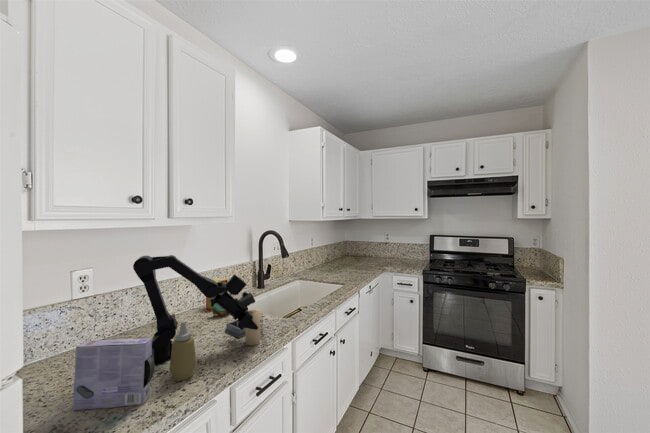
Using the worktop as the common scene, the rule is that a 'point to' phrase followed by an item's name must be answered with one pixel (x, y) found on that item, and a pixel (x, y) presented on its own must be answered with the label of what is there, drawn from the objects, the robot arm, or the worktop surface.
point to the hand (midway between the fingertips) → (256, 325)
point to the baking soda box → (208, 305)
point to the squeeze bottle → (183, 355)
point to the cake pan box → (112, 373)
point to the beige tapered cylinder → (250, 334)
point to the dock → (234, 329)
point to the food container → (219, 311)
